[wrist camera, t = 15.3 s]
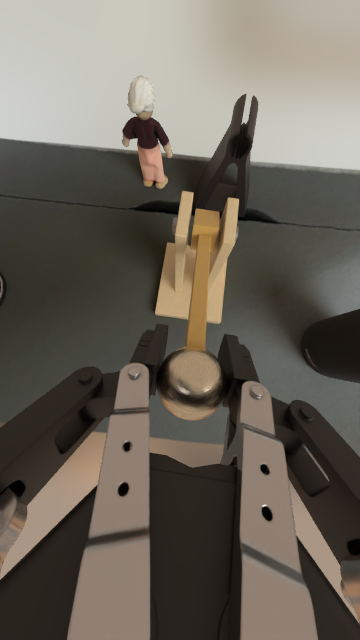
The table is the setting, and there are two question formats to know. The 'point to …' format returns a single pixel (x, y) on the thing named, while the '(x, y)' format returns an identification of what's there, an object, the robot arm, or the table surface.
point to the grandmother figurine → (146, 132)
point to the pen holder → (335, 346)
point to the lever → (195, 340)
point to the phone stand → (230, 151)
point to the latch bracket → (182, 262)
